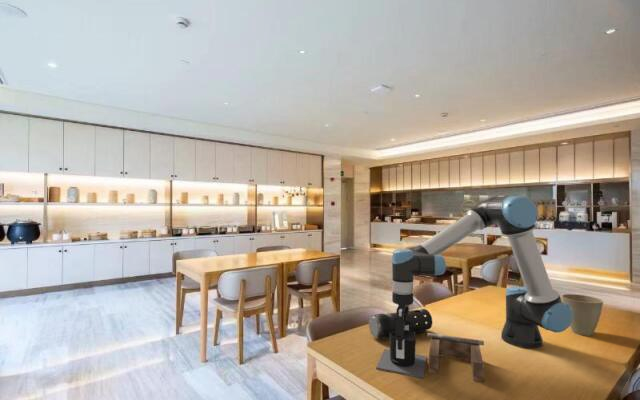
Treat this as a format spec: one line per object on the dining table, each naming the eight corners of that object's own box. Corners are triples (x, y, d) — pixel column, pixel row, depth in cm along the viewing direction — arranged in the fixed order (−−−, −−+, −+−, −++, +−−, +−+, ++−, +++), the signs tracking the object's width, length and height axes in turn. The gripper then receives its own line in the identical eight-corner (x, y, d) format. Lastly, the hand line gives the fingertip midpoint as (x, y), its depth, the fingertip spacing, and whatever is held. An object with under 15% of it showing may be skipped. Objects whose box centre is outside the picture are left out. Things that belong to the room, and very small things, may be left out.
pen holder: (387, 355, 126) (387, 329, 126) (412, 355, 126) (412, 329, 126) (391, 367, 116) (392, 339, 117) (418, 368, 116) (418, 339, 116)
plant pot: (604, 332, 152) (603, 298, 152) (602, 342, 141) (602, 305, 142) (564, 324, 162) (564, 291, 163) (559, 332, 152) (559, 298, 152)
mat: (426, 357, 125) (426, 356, 125) (423, 378, 111) (423, 376, 111) (384, 350, 131) (384, 348, 131) (376, 369, 116) (376, 367, 116)
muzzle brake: (433, 335, 148) (433, 311, 148) (379, 344, 138) (379, 319, 138) (419, 327, 157) (419, 305, 157) (367, 335, 147) (367, 312, 147)
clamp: (483, 360, 124) (483, 340, 124) (488, 383, 108) (488, 359, 108) (427, 351, 131) (427, 332, 131) (424, 371, 115) (424, 349, 115)
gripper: (397, 283, 134) (397, 335, 134) (386, 300, 111) (386, 363, 111) (416, 285, 132) (416, 338, 131) (409, 302, 108) (409, 367, 108)
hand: (402, 350), depth 121 cm, fingers open, 13 cm apart
